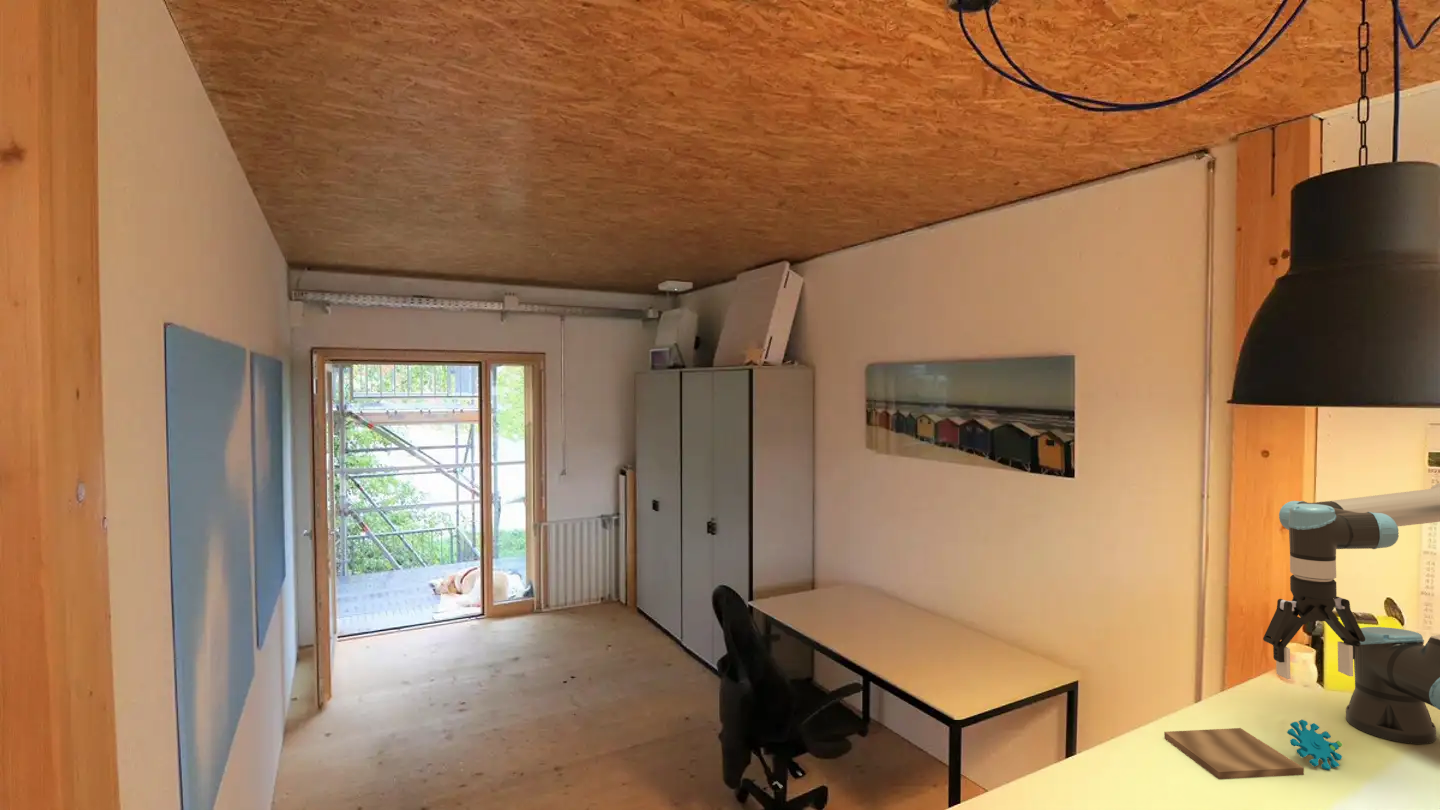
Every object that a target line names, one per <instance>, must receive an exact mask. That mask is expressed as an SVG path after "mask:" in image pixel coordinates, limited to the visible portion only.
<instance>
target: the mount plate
mask: <svg viewBox="0 0 1440 810" xmlns="http://www.w3.org/2000/svg"><path fill="white" fill-rule="evenodd" d="M1164 739H1165V740H1167V741H1168V742H1169V743H1171V745H1173V746H1174V747H1176V748H1177V749H1179V750H1180V751H1181V752H1182V753H1183V754H1185V755H1187V757H1189V758H1190V759H1192V760H1193V761H1195V763H1197V764H1198V765H1199V766H1201V767H1202V768H1203V769H1205V770H1206V771H1208V772H1209V774H1212V776H1214V777H1215V778H1217V779H1218V780H1229V779H1247V778H1248V779H1249V778H1267V777H1290V776H1304V775H1305V769H1304V768H1305V767H1303V766H1302V765H1301V764H1299V763H1297V762H1296V761H1294V760H1292V759H1290V758H1289V757H1288V756H1286V755H1284V754H1283V753H1281V752H1279V751H1278V750H1276V749H1275V748H1274V747H1271V745H1268V744H1267V743H1265V742H1263V741H1262V740H1260V739H1259V738H1257V737H1256V736H1254V735H1252V734H1250V733H1249V732H1247V731H1246V730H1244V729H1243V728H1241V727H1234V728H1214V729H1193V730H1192V729H1191V730H1173V731H1164Z"/></svg>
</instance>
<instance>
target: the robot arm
mask: <svg viewBox="0 0 1440 810" xmlns="http://www.w3.org/2000/svg"><path fill="white" fill-rule="evenodd" d="M1278 518H1279V519H1278V520H1279V523H1280V524H1281V525H1282V527H1283V528H1285V529H1286V530H1287V531H1288V533H1289V534H1288V536H1289V538H1288V539H1289V572H1290V573H1291V574H1292V575H1291V576H1290V578H1289V583H1290V585H1289V586H1290V590H1289V591H1290V593H1291V594H1292V596H1293V597H1292V600H1285V599H1283V598H1278V599H1277V604H1276V610H1275V611H1274V614H1273V616H1272V618H1271V619H1270V622H1269V625H1268V627H1267V629H1266V631H1265V633H1264V636H1263V638H1262V640H1263V641H1264V642H1265V643H1268V644H1270V645H1272V650H1273V660H1274V661H1275V662H1276V663H1275V667H1276V671H1275V673H1276V675H1277V676H1280V677H1282V678H1284V679H1286V680H1290V679H1291V648H1290V647H1287V646H1288V645H1289V643H1290V642H1291V641H1292V640H1293V639H1294V637H1295V636H1296V635H1297V633H1298V632H1299V631H1300V629H1301V628H1302V627H1303V626H1304V625H1307V624H1308V623H1309V622H1317V621H1319V622H1325V623H1326V624H1327V625H1328V626H1329V627H1330V629H1331V630H1332V631H1333V632H1334V633H1335V634H1336V636H1338V638H1340V640H1341V641H1337V672H1339V673H1341V674H1344V675H1346V676H1348V677H1354V690H1353V692H1352V695H1351V697H1350V700H1349V704H1348V705H1347V706H1346V707H1345V708H1346V709H1345V719H1346V721H1347V723H1348V724H1349V725H1351V726H1352V727H1354V728H1356V729H1357V730H1359V731H1361V732H1364V733H1367V734H1369V735H1372V736H1374V737H1378V738H1381V739H1385V740H1389V741H1393V742H1399V743H1404V744H1405V743H1406V744H1414V745H1415V744H1416V745H1425V744H1426V745H1427V744H1431V742H1432V743H1433V742H1435V741H1436V740H1437V728H1436V725H1435V724H1434V723H1433V722H1432V721H1433V720H1432V717H1431V715H1430V712H1429V709H1428V707H1427V705H1426V704H1428V705H1429V706H1432V707H1434V708H1435V709H1437V710H1439V711H1440V634H1438V635H1431V636H1429V638H1428V640H1427V642H1426V644H1425V645H1424V643H1425V640H1424V639H1423V638H1424V637H1423V635H1422V634H1421V633H1419V632H1416V631H1412V630H1408V629H1402V628H1396V627H1395V628H1394V627H1383V626H1367V627H1360V625H1359V623H1358V621H1357V619H1356V618H1355V615H1354V614H1353V612H1352V610H1351V604H1350V600H1349V599H1346V598H1343V597H1340V596H1338V595H1337V581H1336V580H1335V579H1336V578H1337V550H1359V549H1360V550H1362V549H1365V550H1367V549H1368V550H1369V549H1371V550H1376V549H1384V548H1390V547H1392V546H1394V545H1395V544H1396V543H1397V542H1398V540H1399V527H1405V526H1414V525H1422V524H1431V523H1440V483H1436V484H1435V485H1433V486H1432V487H1431V488H1427V489H1425V488H1424V489H1418V490H1410V491H1402V492H1401V491H1400V492H1394V493H1384V494H1378V495H1368V496H1362V497H1360V496H1359V497H1352V498H1344V499H1334V500H1327V501H1326V500H1325V501H1318V502H1316V501H1315V502H1307V501H1304V500H1300V501H1299V500H1291V501H1288V502H1286V503H1285V504H1284V505H1282V506H1281V508H1280V510H1279V513H1278ZM1333 610H1335V611H1336V613H1337V615H1338V616H1337V615H1336V614H1335V613H1334V611H1333ZM1339 618H1340V620H1339Z"/></svg>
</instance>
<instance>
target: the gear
mask: <svg viewBox="0 0 1440 810" xmlns="http://www.w3.org/2000/svg"><path fill="white" fill-rule="evenodd" d="M1308 724H1309V723H1308V721H1306V720H1305V719H1300V720H1298V721H1294V722H1293V721H1292V722H1291V723H1290V726H1291V727H1290V728H1289V729H1288V730H1287V732H1286V733H1287V734H1288V735H1289V736H1291V737H1293V738H1290V740H1289V743H1290V745H1291V746H1292V747H1299V748H1297V749H1296V753H1297V754H1298V755H1299V757H1300V758H1303V759H1304V758H1306V757H1307V756H1311V757H1312V758H1311V759H1309V761H1308V762H1309V764H1310V765H1311V766H1313V767H1314V768H1315V767H1317V766H1319V760H1321V762H1322V763H1321V765H1320V767H1321V769H1323V770H1325V771H1329V770H1331V768H1332V769H1333V768H1334V769H1335V768H1337V767H1340V763H1339V761H1340V760H1342V758H1343V756H1342V754H1341V753H1338V752H1336V751H1337V750H1339V748H1341V747H1343V743H1342V742H1341V741H1339V740H1337V741H1336V742H1331V741H1328V739H1330V738H1332V735H1330V733H1329V731H1323V732H1322V733H1317V732H1316V731H1318V730H1319V729H1320V726H1319V725H1318V724H1316V723H1315V722H1312V723H1311V724H1309V725H1310V726H1309V727H1310V729H1308V728H1307V726H1308ZM1300 727H1301V729H1300ZM1328 761H1329V762H1328Z"/></svg>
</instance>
